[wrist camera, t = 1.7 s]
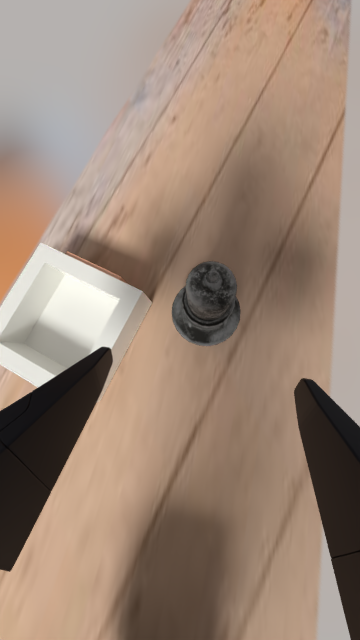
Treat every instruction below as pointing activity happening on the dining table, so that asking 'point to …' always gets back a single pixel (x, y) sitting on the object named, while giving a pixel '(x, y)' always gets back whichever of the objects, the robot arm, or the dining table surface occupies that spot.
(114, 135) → the dining table surface
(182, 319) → the dark chess piece
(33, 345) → the tagged holder
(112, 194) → the dining table surface
